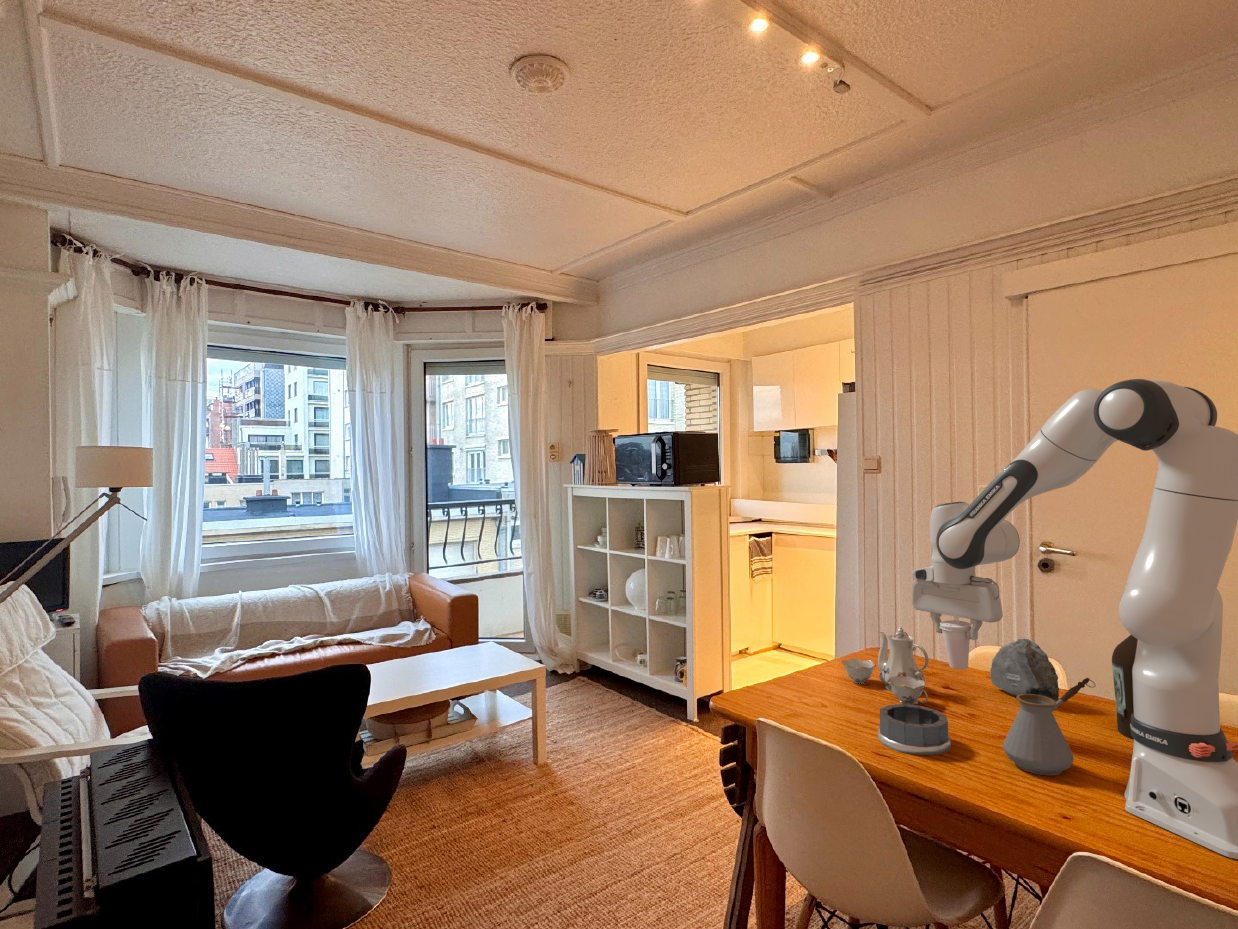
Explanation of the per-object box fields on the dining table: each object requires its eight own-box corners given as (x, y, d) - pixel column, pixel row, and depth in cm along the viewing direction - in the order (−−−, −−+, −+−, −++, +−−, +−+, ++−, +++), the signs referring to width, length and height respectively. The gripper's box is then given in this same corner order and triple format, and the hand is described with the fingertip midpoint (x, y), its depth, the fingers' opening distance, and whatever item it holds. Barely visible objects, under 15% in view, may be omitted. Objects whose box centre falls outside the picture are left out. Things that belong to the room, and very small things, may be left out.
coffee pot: (1045, 785, 119) (1042, 701, 119) (989, 760, 129) (987, 683, 130) (1123, 764, 126) (1121, 685, 126) (1064, 742, 137) (1062, 669, 137)
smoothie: (978, 671, 144) (973, 607, 144) (947, 671, 145) (942, 608, 145) (969, 662, 150) (964, 601, 150) (939, 662, 152) (934, 601, 152)
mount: (965, 752, 133) (965, 725, 133) (901, 758, 131) (900, 730, 131) (924, 726, 147) (923, 701, 147) (865, 731, 145) (865, 706, 145)
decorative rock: (1063, 708, 156) (1061, 644, 156) (1040, 711, 154) (1038, 647, 155) (1007, 686, 172) (1005, 629, 172) (985, 689, 170) (984, 631, 170)
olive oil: (1172, 731, 141) (1168, 614, 142) (1183, 749, 132) (1179, 624, 132) (1110, 722, 147) (1107, 610, 147) (1117, 739, 137) (1113, 619, 138)
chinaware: (831, 686, 181) (825, 626, 180) (876, 671, 188) (870, 613, 187) (916, 719, 155) (908, 650, 155) (964, 700, 162) (957, 634, 162)
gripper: (1007, 577, 140) (1010, 643, 140) (923, 568, 159) (926, 626, 158) (988, 580, 138) (992, 647, 137) (905, 571, 156) (908, 629, 155)
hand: (956, 635), depth 148 cm, fingers closed on smoothie, 6 cm apart
